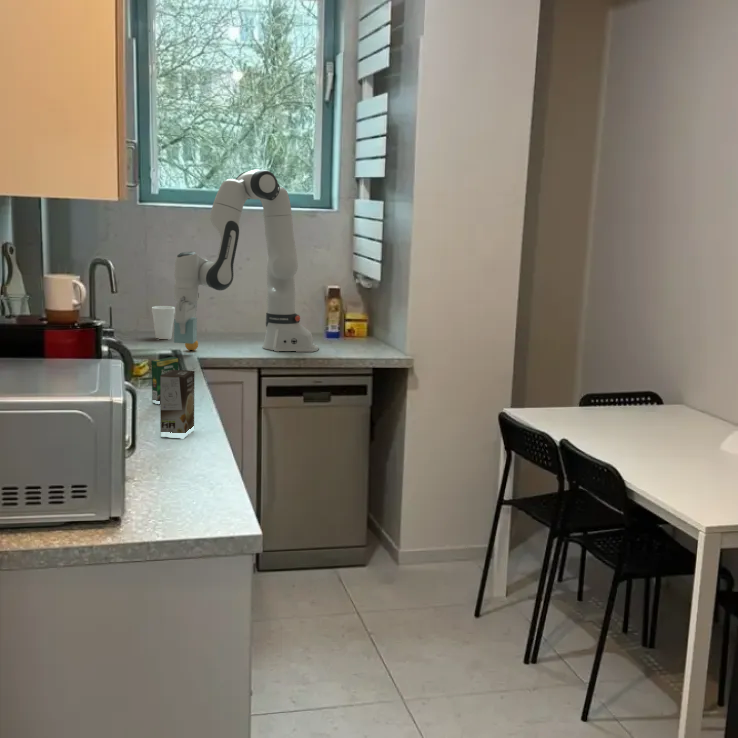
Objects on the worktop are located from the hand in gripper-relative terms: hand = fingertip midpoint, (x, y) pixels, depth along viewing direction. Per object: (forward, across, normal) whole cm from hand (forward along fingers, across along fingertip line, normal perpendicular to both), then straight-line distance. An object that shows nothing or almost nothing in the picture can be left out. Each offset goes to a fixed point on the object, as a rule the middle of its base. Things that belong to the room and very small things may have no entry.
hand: (185, 332), depth 338 cm
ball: (+6, +9, 0) cm, 11 cm away
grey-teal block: (+4, 0, 0) cm, 4 cm away
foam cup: (+9, +35, +17) cm, 40 cm away
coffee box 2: (+9, -78, -11) cm, 79 cm away
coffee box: (+9, -112, -22) cm, 114 cm away
